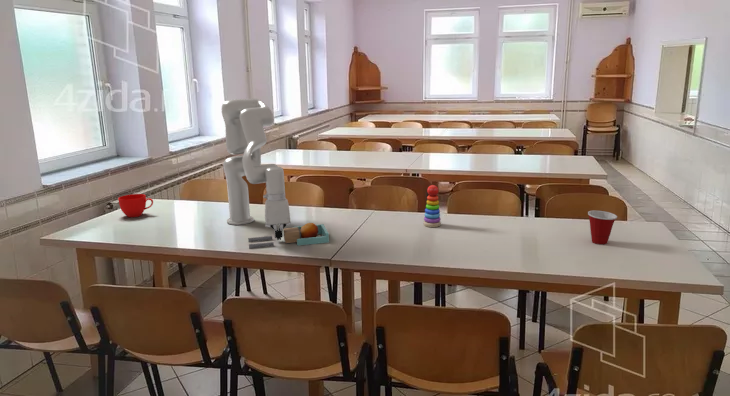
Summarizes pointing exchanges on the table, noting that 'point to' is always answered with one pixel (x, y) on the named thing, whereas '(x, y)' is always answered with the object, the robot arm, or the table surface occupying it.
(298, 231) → the block
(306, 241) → the teal u-shaped frame
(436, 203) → the stacking toy
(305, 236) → the fruit
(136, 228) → the table surface
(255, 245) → the launcher track
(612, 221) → the plastic cup
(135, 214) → the ceramic cup
